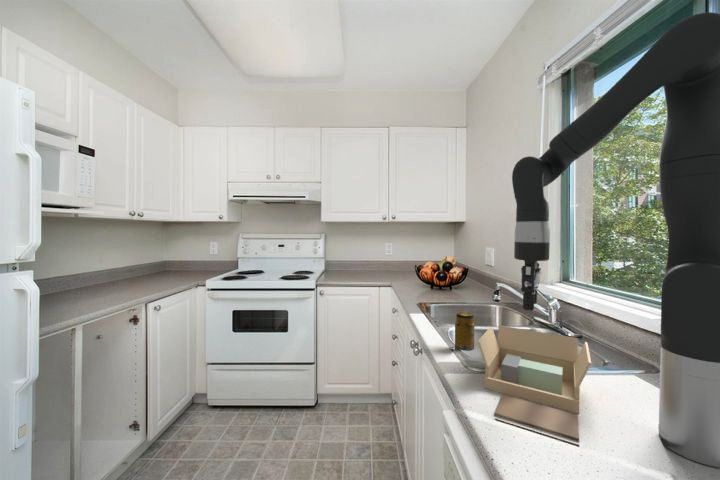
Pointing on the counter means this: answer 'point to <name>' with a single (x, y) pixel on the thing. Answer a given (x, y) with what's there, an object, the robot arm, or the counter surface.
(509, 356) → the box
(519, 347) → the carton
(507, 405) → the board
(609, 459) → the counter surface
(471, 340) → the condiment
